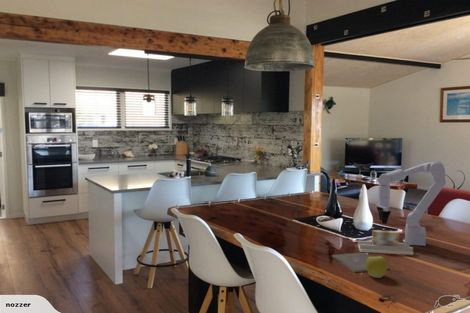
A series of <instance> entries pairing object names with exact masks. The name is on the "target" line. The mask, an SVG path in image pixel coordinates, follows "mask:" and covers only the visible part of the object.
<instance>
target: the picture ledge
mask: <svg viewBox="0 0 470 313" xmlns="http://www.w3.org/2000/svg"><path fill="white" fill-rule="evenodd" d="M357 247H358V250H359V253H362V252H364V253H374V254H389V255H391V254H393V255H405V256H406V255H407V256H408V255H409V256H414V247H413V246H411V245H410V243H404V242H399V246H384V245H372V240H371V241H370V240H358V242H357Z"/></svg>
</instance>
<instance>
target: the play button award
mask: <svg viewBox="0 0 470 313" xmlns="http://www.w3.org/2000/svg"><path fill="white" fill-rule="evenodd" d="M369 257H372V256H370V255H369V254H368V253H366V252H355V253H352V252H351V253H340V254H331V258H332V259H334V260H336V261H337V262H338V263H340V264H341V265H343V266H345V267H346V268H347V269H349V270H350V271H352V272H353V273H365V272H368V271H367V267H366V261H367V259H368V258H369ZM387 270H390V266H389V265H387Z"/></svg>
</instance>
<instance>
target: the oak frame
mask: <svg viewBox="0 0 470 313" xmlns="http://www.w3.org/2000/svg"><path fill="white" fill-rule="evenodd" d="M371 232H372V234H371V241H372V245H384V246H399V243H400V234H401V233H400V232H399V230H398V231H396V230H379V229H378V230H375V229H372V230H371Z"/></svg>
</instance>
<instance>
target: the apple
mask: <svg viewBox="0 0 470 313" xmlns="http://www.w3.org/2000/svg"><path fill="white" fill-rule="evenodd" d="M387 266H388V263H387V261H386V259H385V257H383V256H382V255H381V256H379V255H378V256H371V257H369V258H368V259H367V261H366V267H367V271H366V272H367V273H368V275H369V276H371V277H372V278H374V279H381V278H383V277H384V276H385V275H386V273H387V271H388V269H387Z"/></svg>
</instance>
